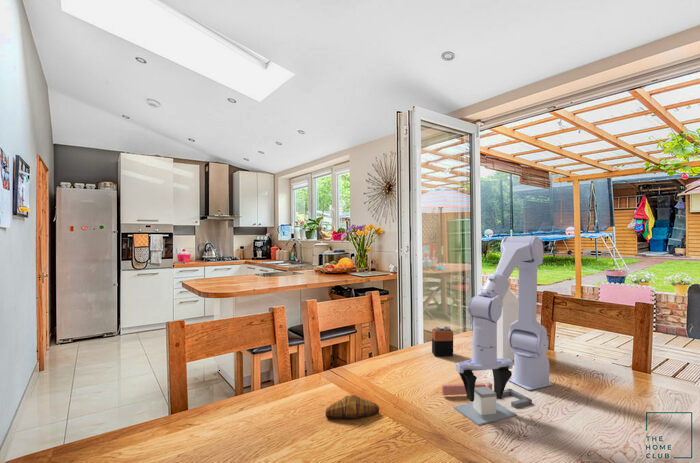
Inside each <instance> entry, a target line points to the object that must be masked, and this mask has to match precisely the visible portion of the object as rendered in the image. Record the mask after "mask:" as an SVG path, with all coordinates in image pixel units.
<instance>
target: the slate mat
mask: <svg viewBox="0 0 700 463" xmlns="http://www.w3.org/2000/svg"><path fill="white" fill-rule="evenodd" d="M453 409H454V410H456V411H457V412H459V413H460V414H461V415H463V416H464V417H465V418H467V419H469V420H470V421H471V422H472V423H474V424H476V425H477V426H482V425H486V424H489V423H493V422H496V421H500V420H504V419H507V418H510V417H511V418H512V417H515V416H518V414H517V413H516V412H514V411H512V410H510V409H509V408H507V407H505V406H503V405H501V404H500V403H499V402H497V401H496V414H487V415H481V414H480V413H479V412H478V411H477V410H475V409H474V408H473V402H471V401H470V402H469V403H468V402H467V403H463V404H459V405H455V406H453Z"/></svg>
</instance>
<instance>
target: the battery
mask: <svg viewBox="0 0 700 463" xmlns="http://www.w3.org/2000/svg"><path fill="white" fill-rule="evenodd" d="M431 353H432V354H433V356H434V357H436V356H440V357H454V331H453V329H451V327H450V326H443V328H442V327H438V326H436V327H435V328H432V329H431Z"/></svg>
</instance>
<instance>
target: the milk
mask: <svg viewBox="0 0 700 463" xmlns="http://www.w3.org/2000/svg"><path fill="white" fill-rule="evenodd" d="M502 301H503V306H502V313H501V317H500V318H499V320H498V321H497V358H498V359H510V360H511V361H514V352H512V348H510V346H509V344H508V334H509V329H510V325H511V324H512V323H513V322H515V321H517V320H518V298H517V296H516V295H515V294H514V293H513V291H512V290H511V288H510V286H509V288H508V290H507V292H506V294H505V296H504V298H503V300H502Z"/></svg>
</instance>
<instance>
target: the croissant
mask: <svg viewBox="0 0 700 463" xmlns="http://www.w3.org/2000/svg"><path fill="white" fill-rule="evenodd" d="M378 413H380V406H379V404H377V403H375V402H374V401H372V400H369V399H365V398H361V397H360V396H359V395H355V394H348V395H346V396H343V397H342V398H341V399H340V400H338V401H336V402H334V403H332V404H330V405H329V406H327V408H326V409H325V416H326V417H327V418H331V419H352V420H353V419H354V420H355V419H358V418H363V417H369V416H374V415H376V414H378Z"/></svg>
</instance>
